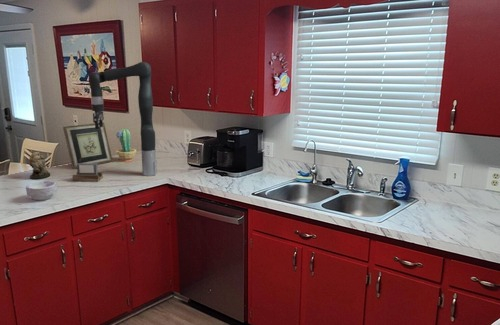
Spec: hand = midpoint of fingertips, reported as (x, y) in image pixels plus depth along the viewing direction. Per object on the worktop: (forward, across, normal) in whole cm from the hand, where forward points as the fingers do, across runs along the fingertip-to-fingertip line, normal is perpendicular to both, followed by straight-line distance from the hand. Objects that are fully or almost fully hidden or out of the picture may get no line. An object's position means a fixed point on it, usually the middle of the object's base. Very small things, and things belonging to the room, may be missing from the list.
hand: (99, 127), depth 275 cm
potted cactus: (+32, -44, +6) cm, 55 cm away
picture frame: (+32, -30, -18) cm, 48 cm away
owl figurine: (+32, +6, -39) cm, 51 cm away
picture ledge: (+32, +14, -5) cm, 35 cm away
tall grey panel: (+31, +14, -5) cm, 34 cm away
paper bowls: (+32, +53, -17) cm, 64 cm away
